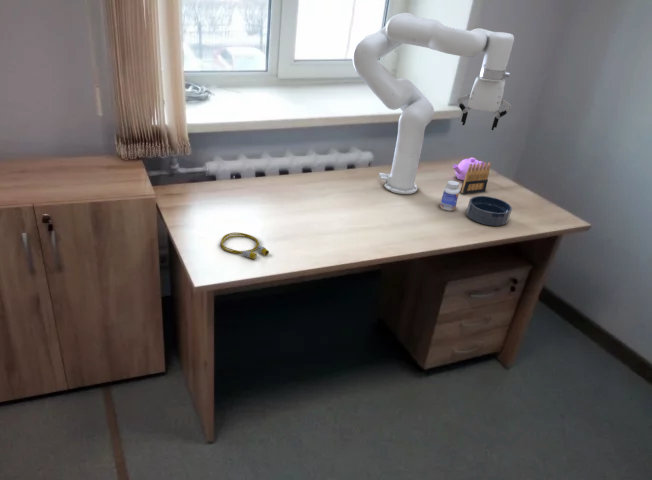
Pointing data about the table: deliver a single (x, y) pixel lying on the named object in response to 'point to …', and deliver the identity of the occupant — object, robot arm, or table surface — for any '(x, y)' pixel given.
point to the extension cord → (249, 252)
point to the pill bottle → (450, 196)
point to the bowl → (488, 210)
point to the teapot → (465, 167)
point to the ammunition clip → (476, 179)
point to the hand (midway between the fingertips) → (477, 126)
